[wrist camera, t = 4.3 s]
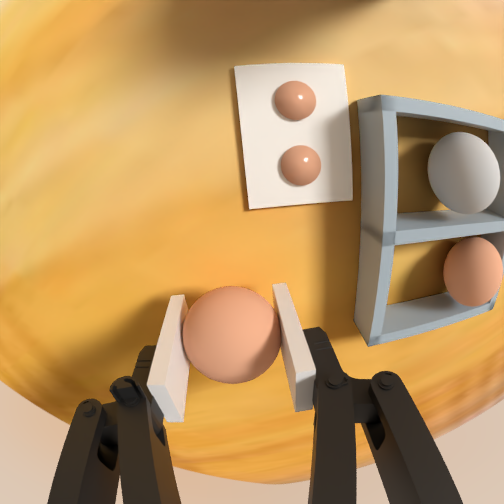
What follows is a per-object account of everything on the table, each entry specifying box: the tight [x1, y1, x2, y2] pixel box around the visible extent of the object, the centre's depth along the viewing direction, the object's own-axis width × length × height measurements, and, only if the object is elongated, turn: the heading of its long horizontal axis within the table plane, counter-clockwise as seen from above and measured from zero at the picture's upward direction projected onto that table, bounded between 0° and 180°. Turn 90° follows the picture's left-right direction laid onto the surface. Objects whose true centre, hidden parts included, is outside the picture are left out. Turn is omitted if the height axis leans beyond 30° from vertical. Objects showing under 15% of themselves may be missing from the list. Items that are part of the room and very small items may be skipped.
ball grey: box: [428, 132, 500, 214], centre depth 13 cm, size 5×5×5 cm
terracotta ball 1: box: [182, 286, 281, 384], centre depth 14 cm, size 5×5×5 cm
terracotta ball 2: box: [443, 237, 503, 307], centre depth 16 cm, size 5×5×5 cm
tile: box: [234, 63, 353, 209], centre depth 14 cm, size 6×8×1 cm
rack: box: [354, 95, 504, 347], centre depth 15 cm, size 13×15×3 cm
